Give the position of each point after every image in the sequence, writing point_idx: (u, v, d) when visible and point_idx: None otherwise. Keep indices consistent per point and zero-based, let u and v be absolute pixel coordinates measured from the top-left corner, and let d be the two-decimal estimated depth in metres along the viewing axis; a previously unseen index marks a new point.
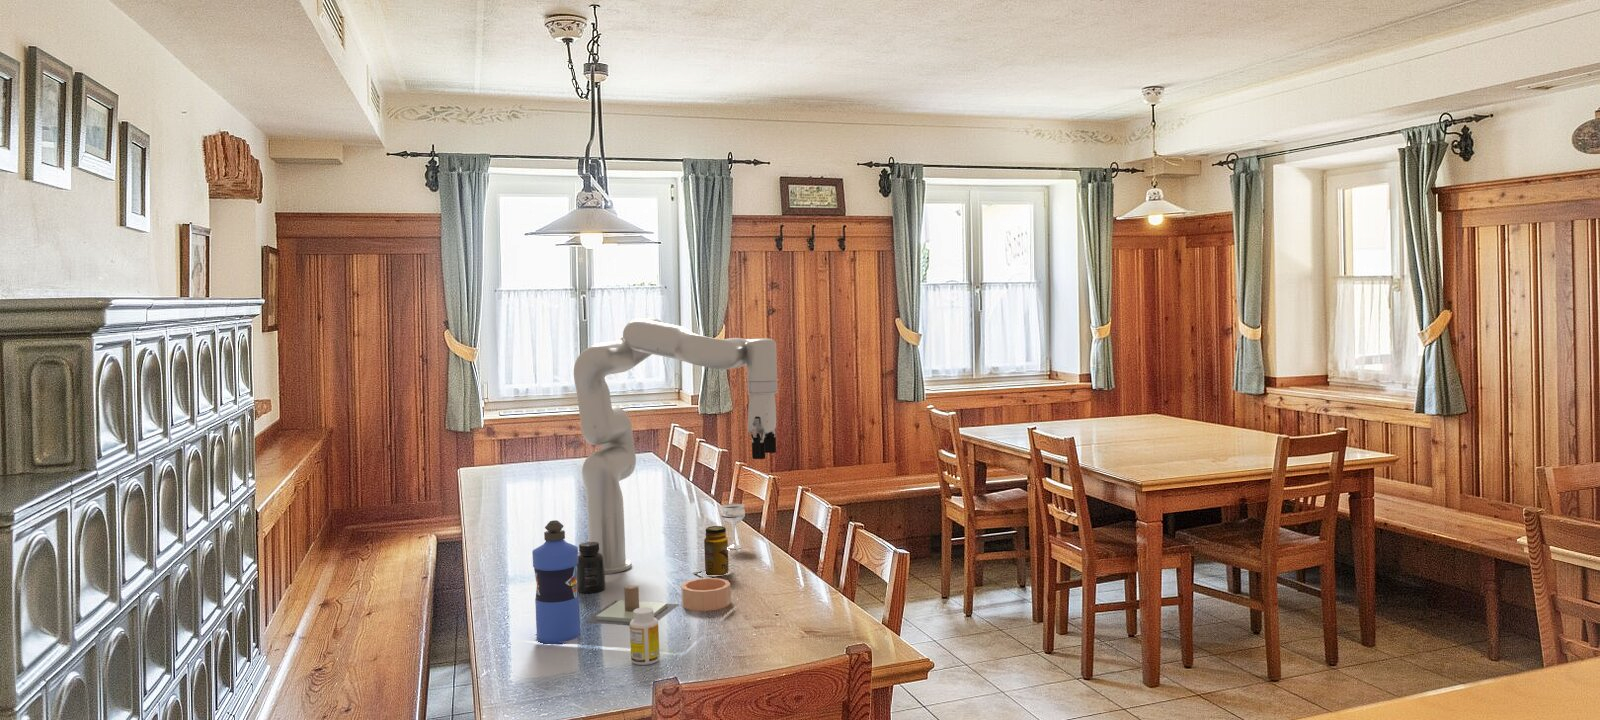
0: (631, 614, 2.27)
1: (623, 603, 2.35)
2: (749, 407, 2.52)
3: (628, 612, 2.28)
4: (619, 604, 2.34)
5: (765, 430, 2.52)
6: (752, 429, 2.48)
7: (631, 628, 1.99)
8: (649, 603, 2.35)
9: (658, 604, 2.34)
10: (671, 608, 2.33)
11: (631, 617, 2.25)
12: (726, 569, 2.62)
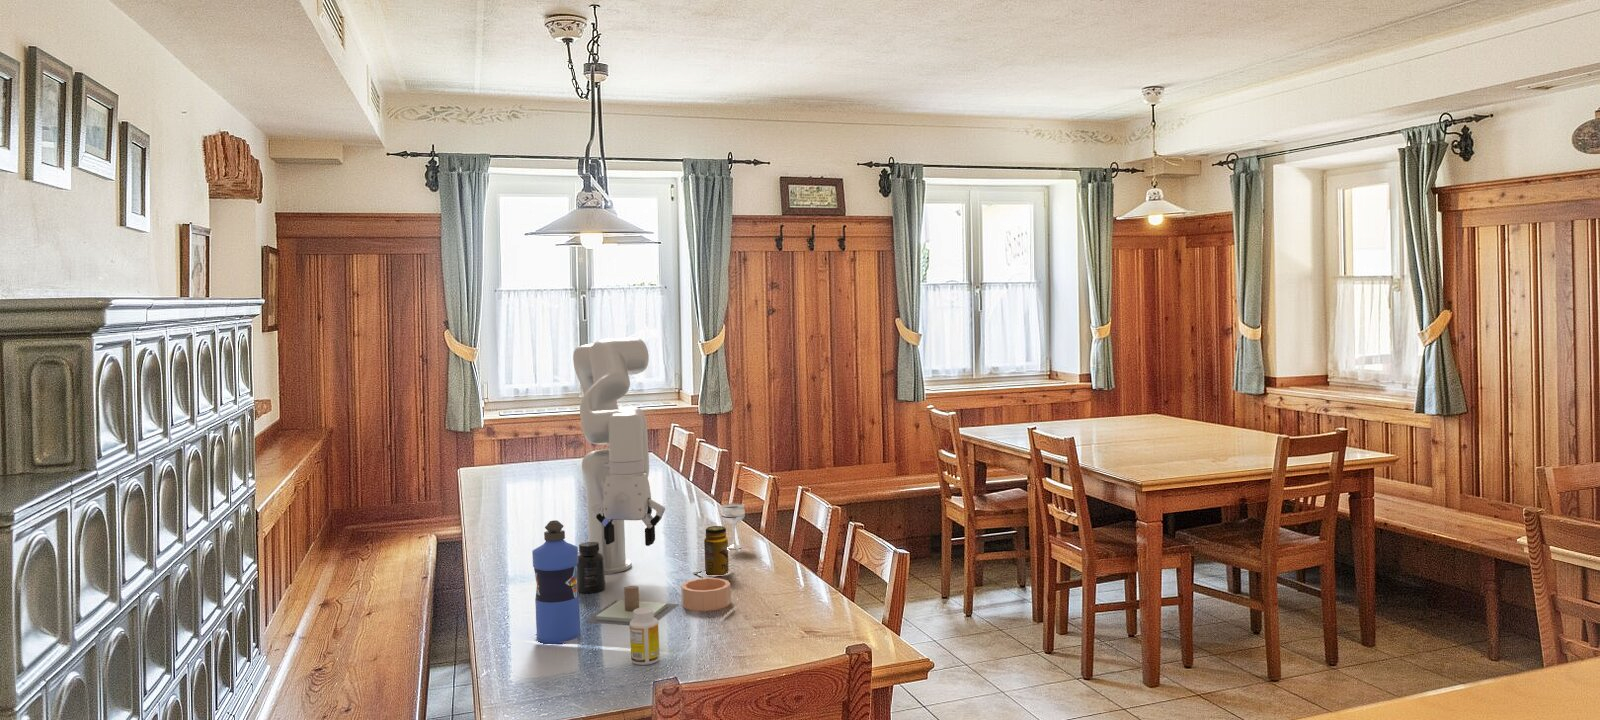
0: (631, 614, 2.27)
1: (623, 603, 2.35)
2: (642, 489, 2.25)
3: (628, 612, 2.28)
4: (619, 604, 2.34)
5: None
6: (663, 510, 2.26)
7: (631, 628, 1.99)
8: (649, 603, 2.35)
9: (658, 604, 2.34)
10: (671, 608, 2.33)
11: (631, 617, 2.25)
12: (726, 569, 2.62)
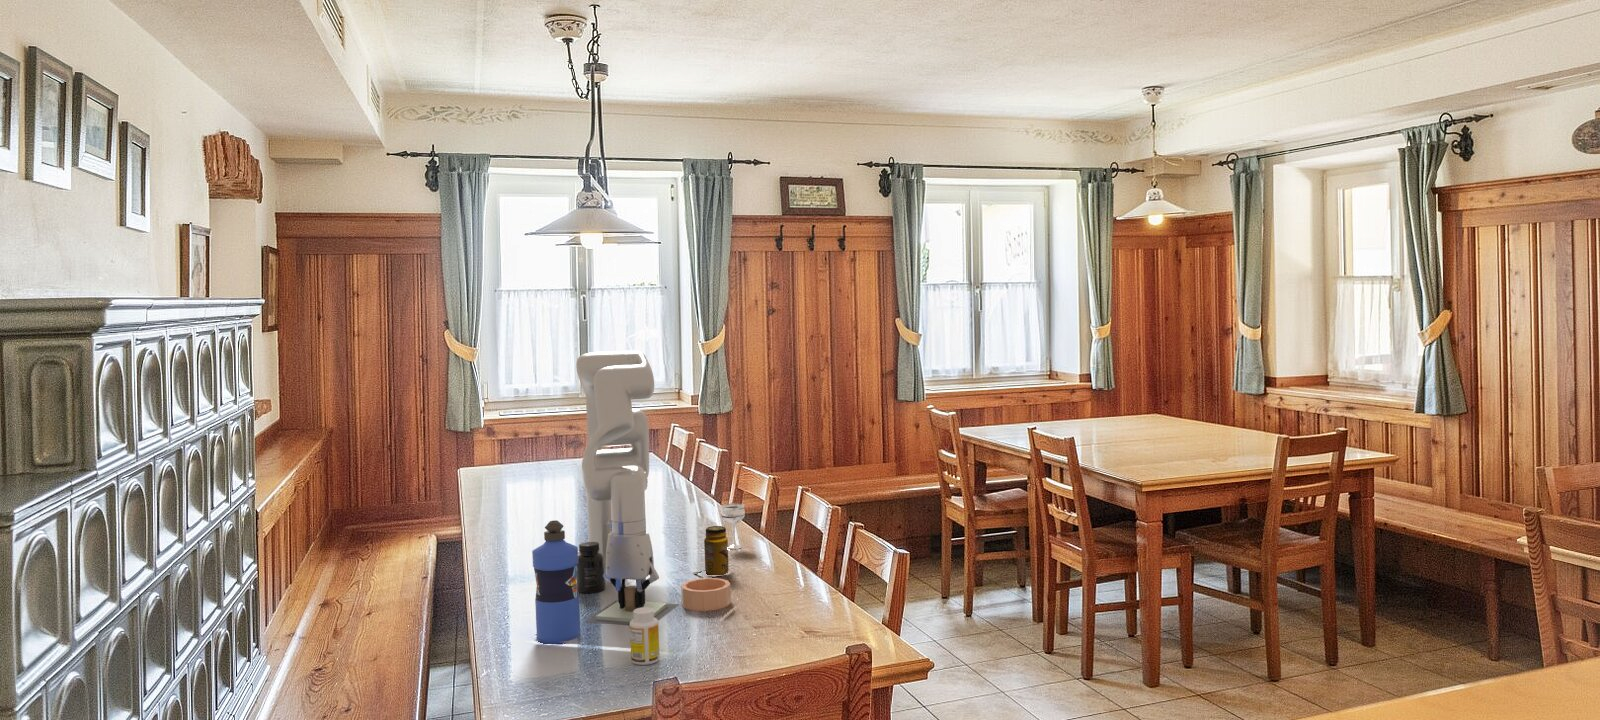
0: (631, 614, 2.27)
1: None
2: (644, 549, 2.26)
3: (628, 612, 2.28)
4: (619, 604, 2.34)
5: None
6: None
7: (631, 628, 1.99)
8: (649, 603, 2.35)
9: (658, 604, 2.34)
10: (671, 608, 2.33)
11: (631, 617, 2.25)
12: (726, 569, 2.62)
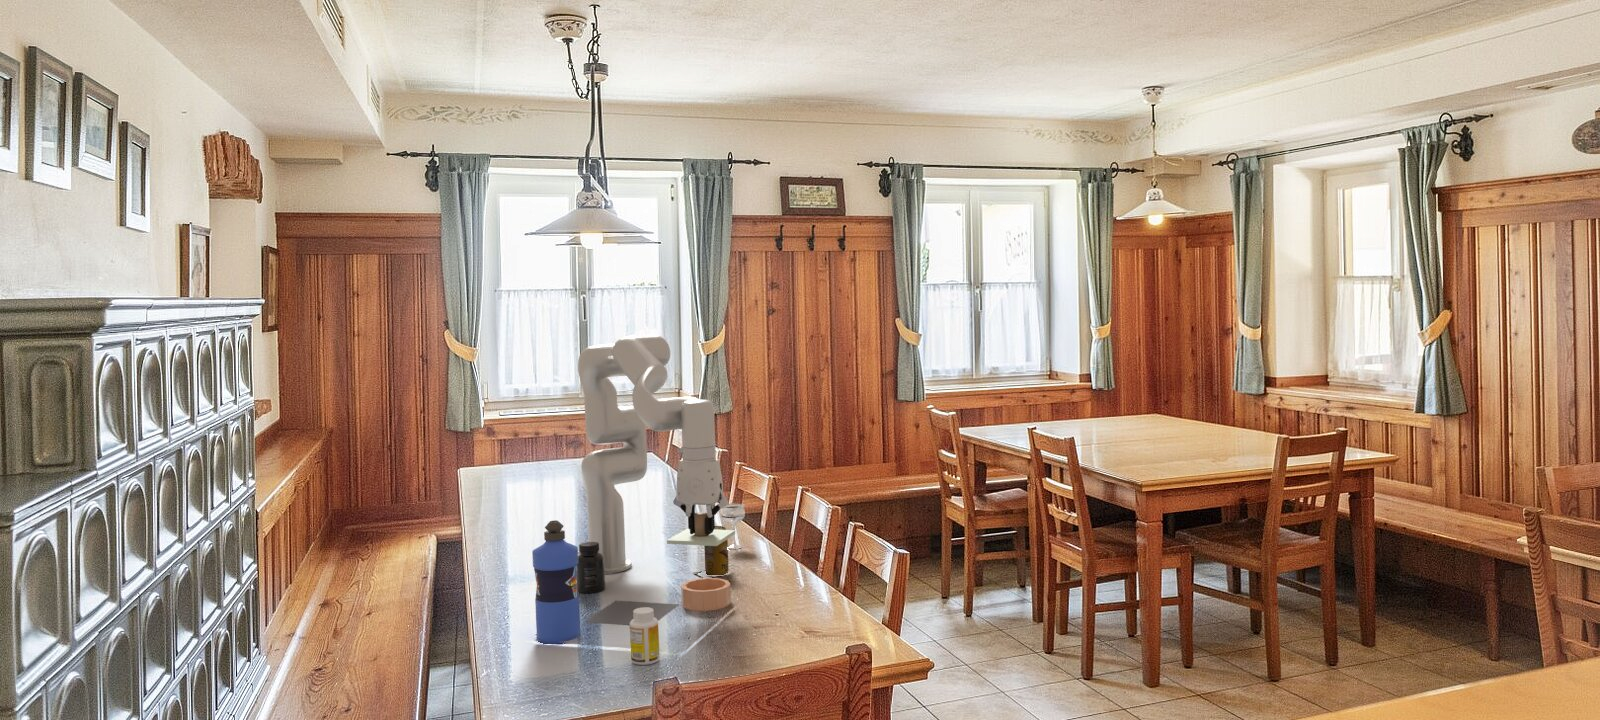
0: (702, 538, 2.32)
1: None
2: (715, 475, 2.31)
3: (698, 537, 2.33)
4: (688, 531, 2.39)
5: None
6: (726, 505, 2.33)
7: (631, 628, 1.99)
8: (717, 530, 2.39)
9: (726, 531, 2.38)
10: (671, 608, 2.33)
11: (702, 541, 2.29)
12: (726, 569, 2.62)
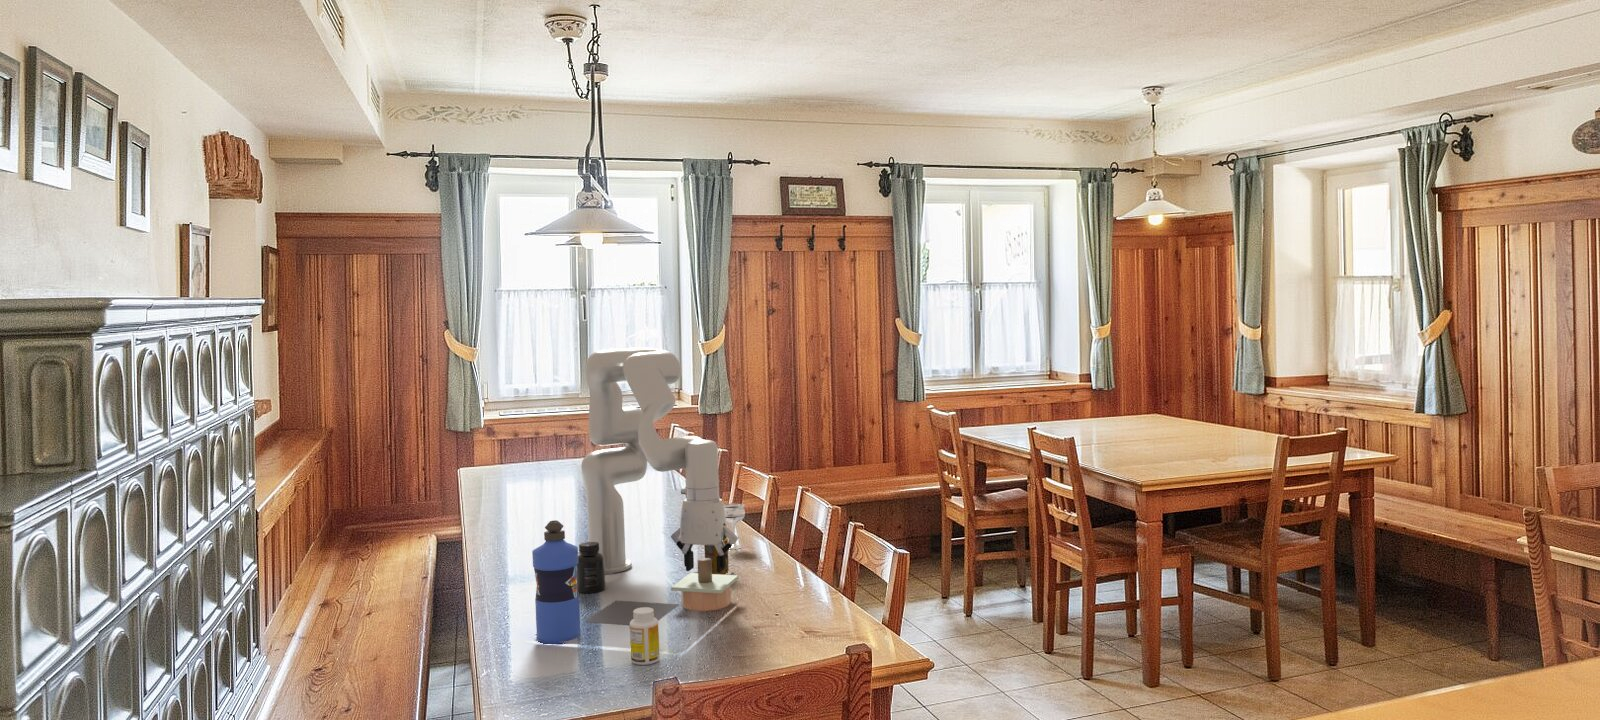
0: (706, 585, 2.33)
1: (695, 575, 2.41)
2: (718, 515, 2.32)
3: (702, 583, 2.34)
4: (692, 577, 2.40)
5: None
6: (736, 540, 2.33)
7: (631, 628, 1.99)
8: (721, 575, 2.40)
9: (730, 576, 2.39)
10: (671, 608, 2.33)
11: (706, 588, 2.30)
12: (726, 569, 2.62)
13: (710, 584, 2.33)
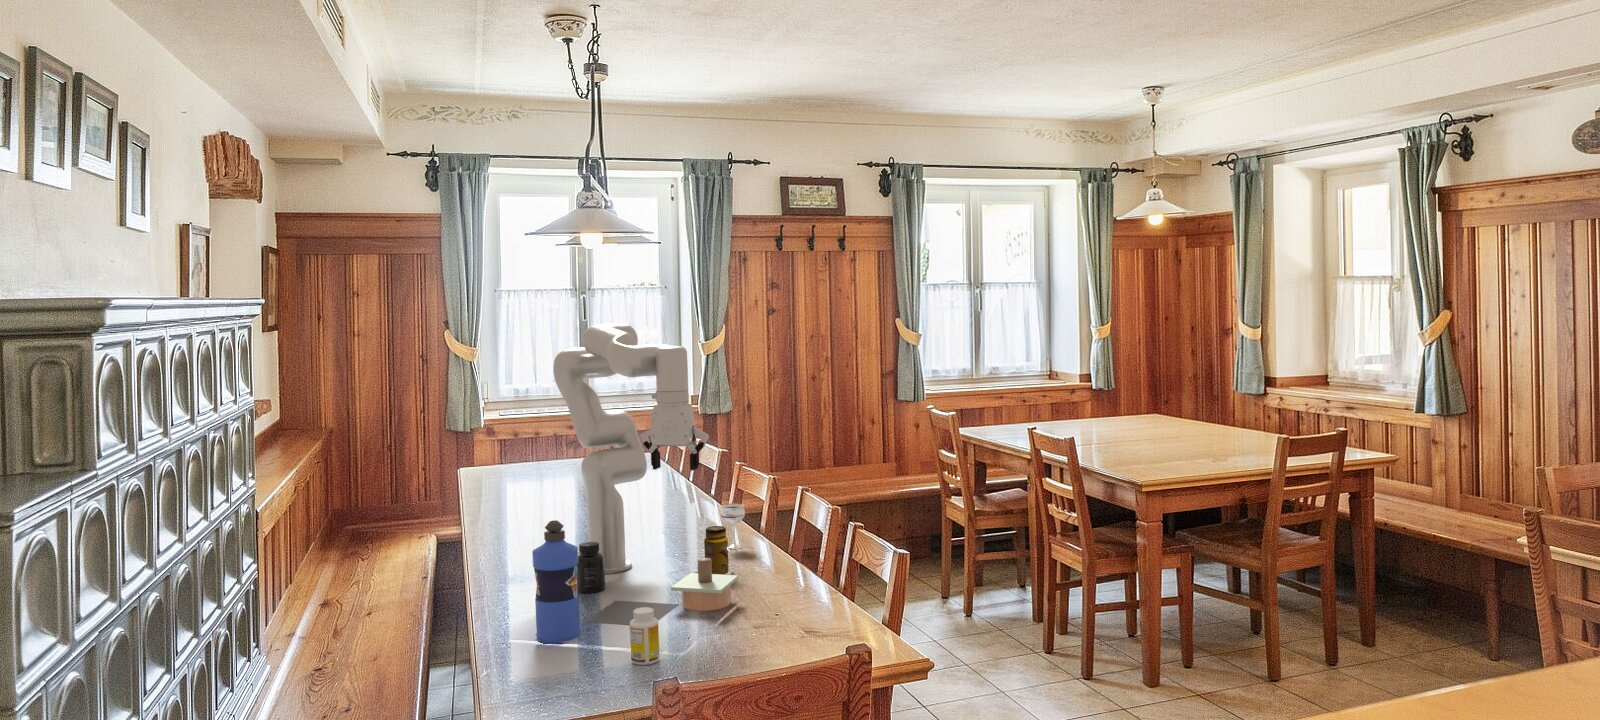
0: (706, 585, 2.33)
1: (695, 575, 2.41)
2: (688, 417, 2.41)
3: (702, 583, 2.34)
4: (692, 577, 2.40)
5: None
6: (707, 437, 2.42)
7: (631, 628, 1.99)
8: (721, 575, 2.40)
9: (730, 576, 2.39)
10: (671, 608, 2.33)
11: (706, 588, 2.30)
12: (726, 569, 2.62)
13: (710, 584, 2.33)
